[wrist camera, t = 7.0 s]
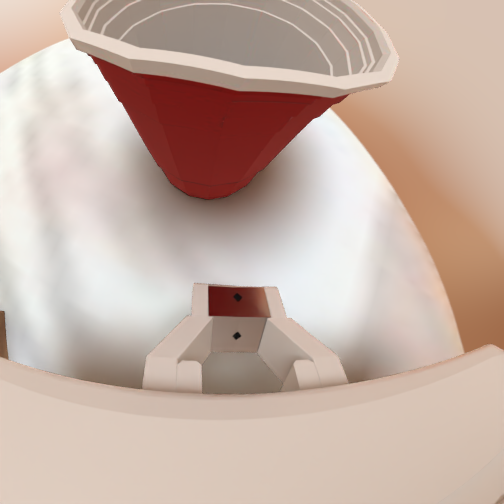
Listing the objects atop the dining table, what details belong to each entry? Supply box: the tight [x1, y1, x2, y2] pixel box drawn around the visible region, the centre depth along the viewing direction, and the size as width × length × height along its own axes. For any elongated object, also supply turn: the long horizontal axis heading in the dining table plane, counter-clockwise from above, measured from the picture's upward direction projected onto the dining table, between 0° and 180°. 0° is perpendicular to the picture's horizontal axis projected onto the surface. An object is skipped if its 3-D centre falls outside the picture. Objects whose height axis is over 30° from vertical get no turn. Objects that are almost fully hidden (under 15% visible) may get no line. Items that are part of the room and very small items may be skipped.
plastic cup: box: [60, 0, 400, 200], centre depth 11 cm, size 11×11×12 cm
